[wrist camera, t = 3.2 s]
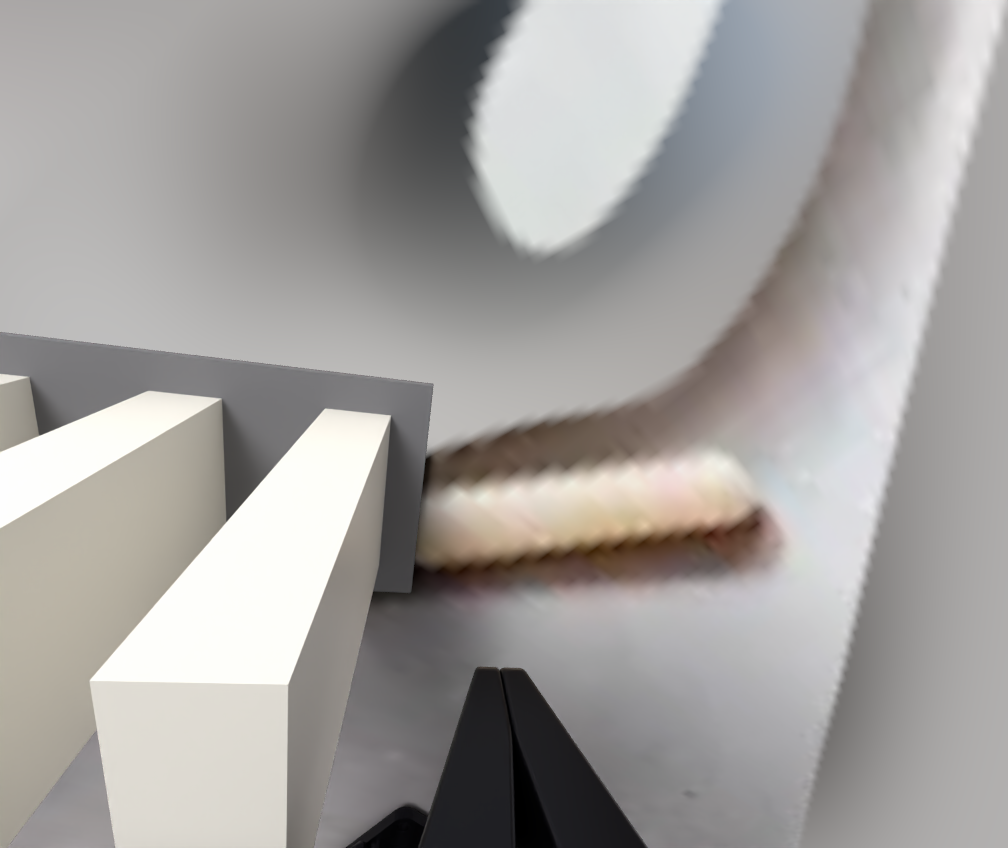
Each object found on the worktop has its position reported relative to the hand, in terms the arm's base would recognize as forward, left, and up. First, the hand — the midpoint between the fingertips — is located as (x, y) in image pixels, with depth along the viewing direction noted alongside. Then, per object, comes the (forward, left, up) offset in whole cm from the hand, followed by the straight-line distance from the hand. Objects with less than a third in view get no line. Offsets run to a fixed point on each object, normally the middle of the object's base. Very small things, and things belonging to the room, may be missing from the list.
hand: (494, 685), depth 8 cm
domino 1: (+3, +2, -7) cm, 8 cm away
